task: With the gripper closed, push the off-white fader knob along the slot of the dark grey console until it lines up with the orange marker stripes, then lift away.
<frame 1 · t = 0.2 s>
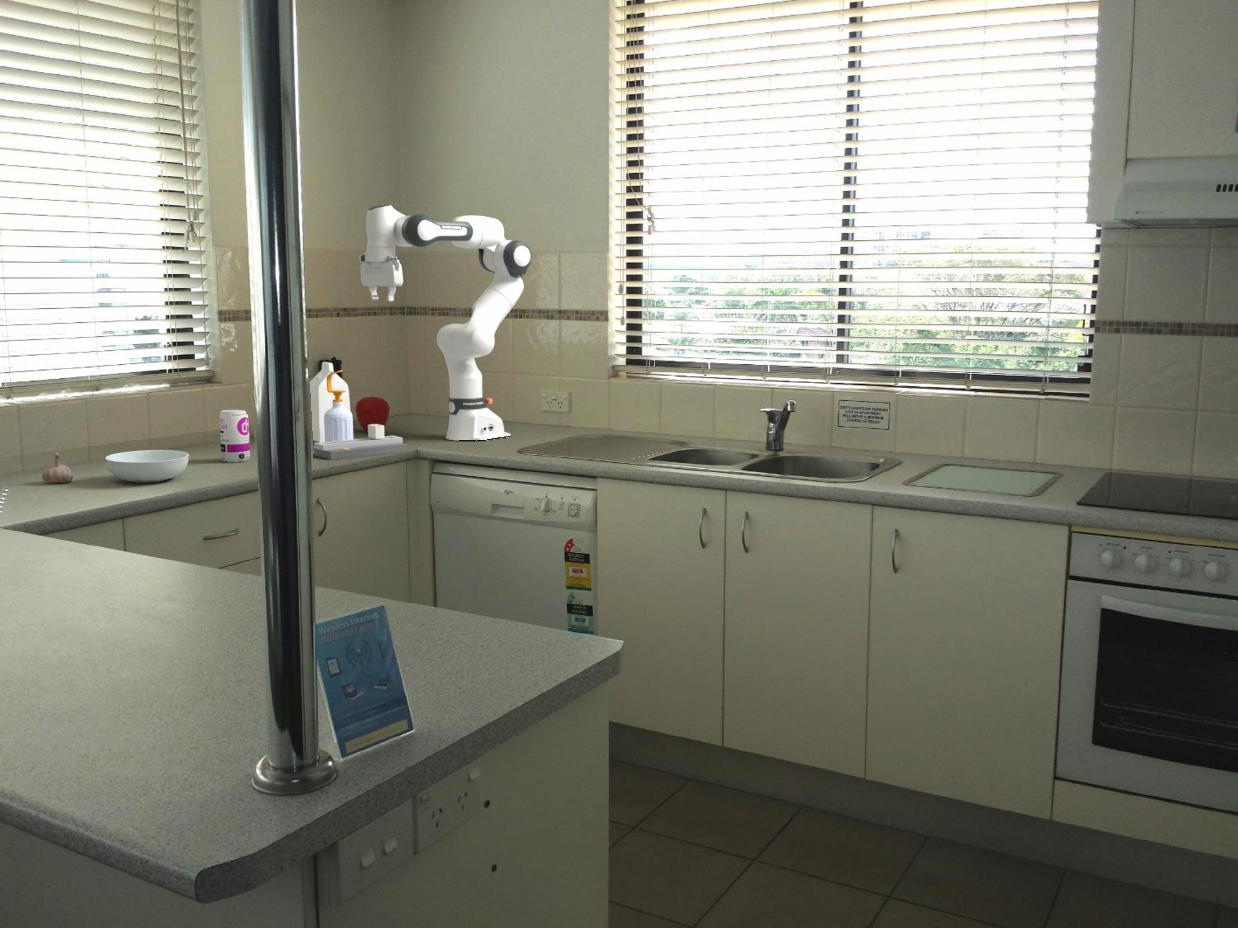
hand: (382, 300, 361), 47 cm above the worktop, tool pointing down, fingers open, 8 cm apart
garlic bulb: (58, 483, 301), on the worktop
milk: (330, 439, 386), on the worktop
soap bottle: (339, 445, 372), on the worktop
supplement can: (235, 461, 339), on the worktop
serving bowl: (149, 481, 306), on the worktop
fader: (376, 433, 358), point 6 cm above the worktop, slide at -6.0 cm
console: (359, 452, 355), on the worktop
apple: (373, 432, 404), on the worktop
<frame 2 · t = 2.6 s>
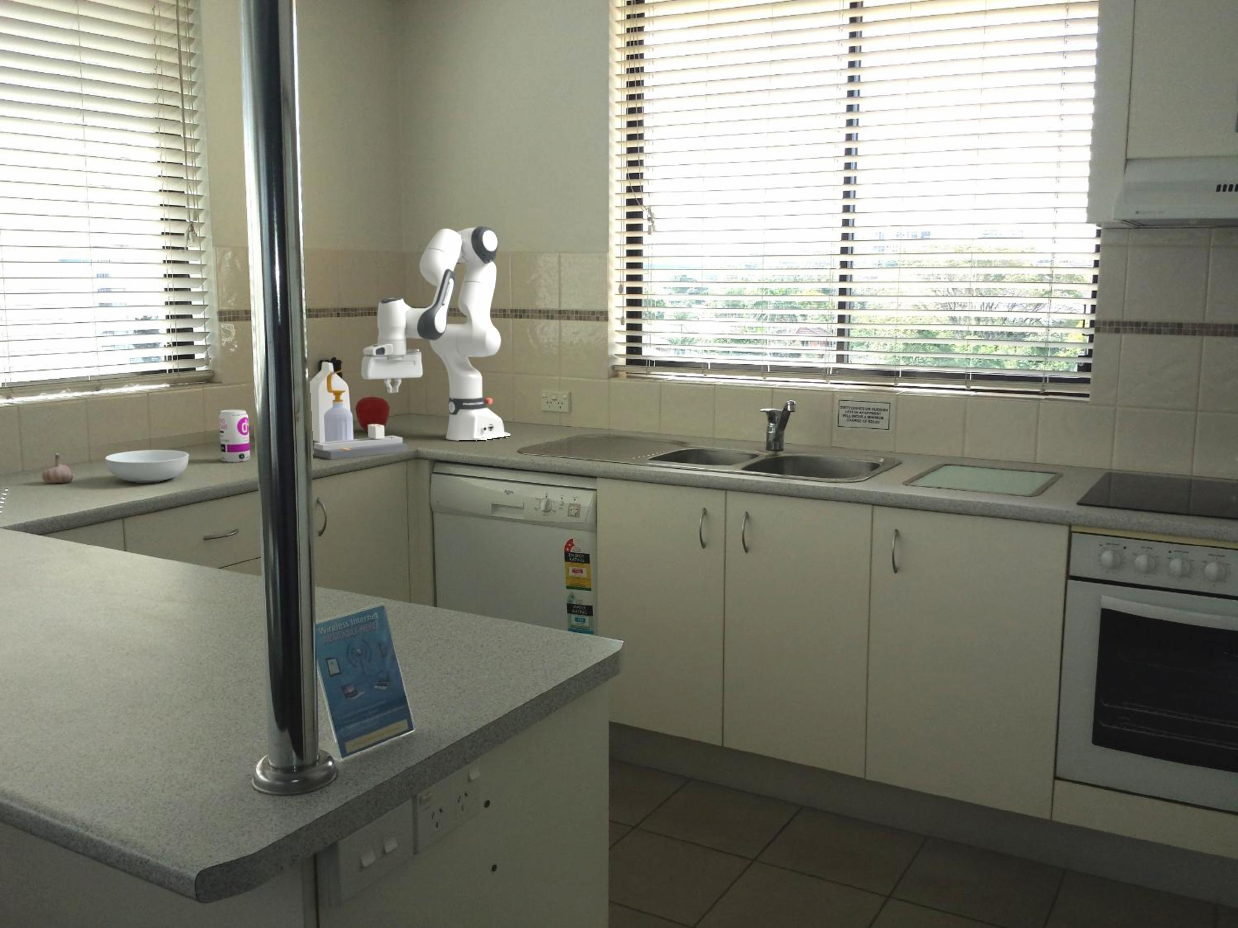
hand: (392, 392, 360), 18 cm above the worktop, tool pointing down, fingers closed
nothing on the worktop moved.
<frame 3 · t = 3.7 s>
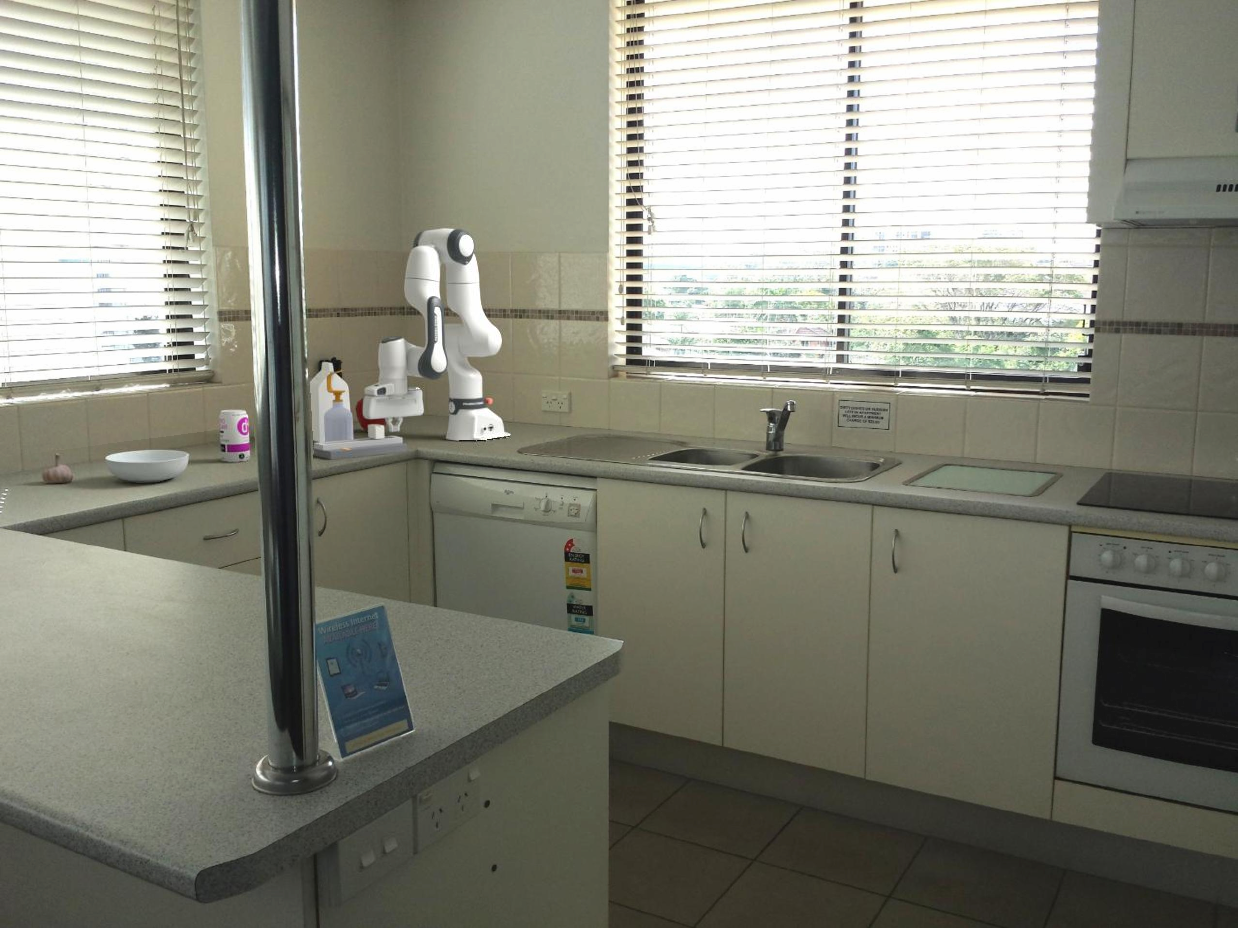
hand: (394, 431, 362), 6 cm above the worktop, tool pointing down, fingers closed
nothing on the worktop moved.
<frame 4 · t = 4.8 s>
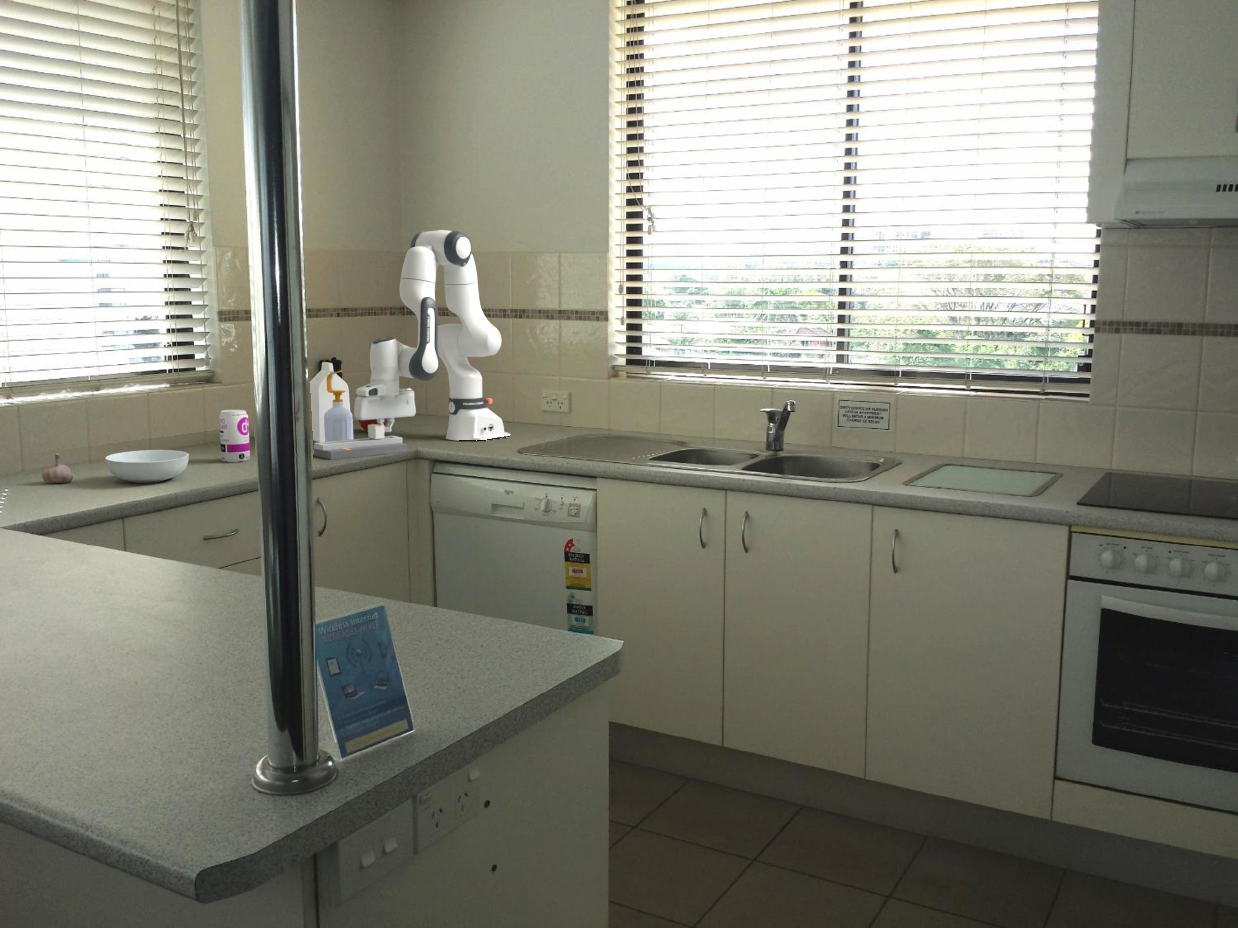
hand: (386, 432, 360), 6 cm above the worktop, tool pointing down, fingers closed
fader: (376, 433, 358), point 6 cm above the worktop, slide at -6.0 cm, touching gripper
everything else where it was.
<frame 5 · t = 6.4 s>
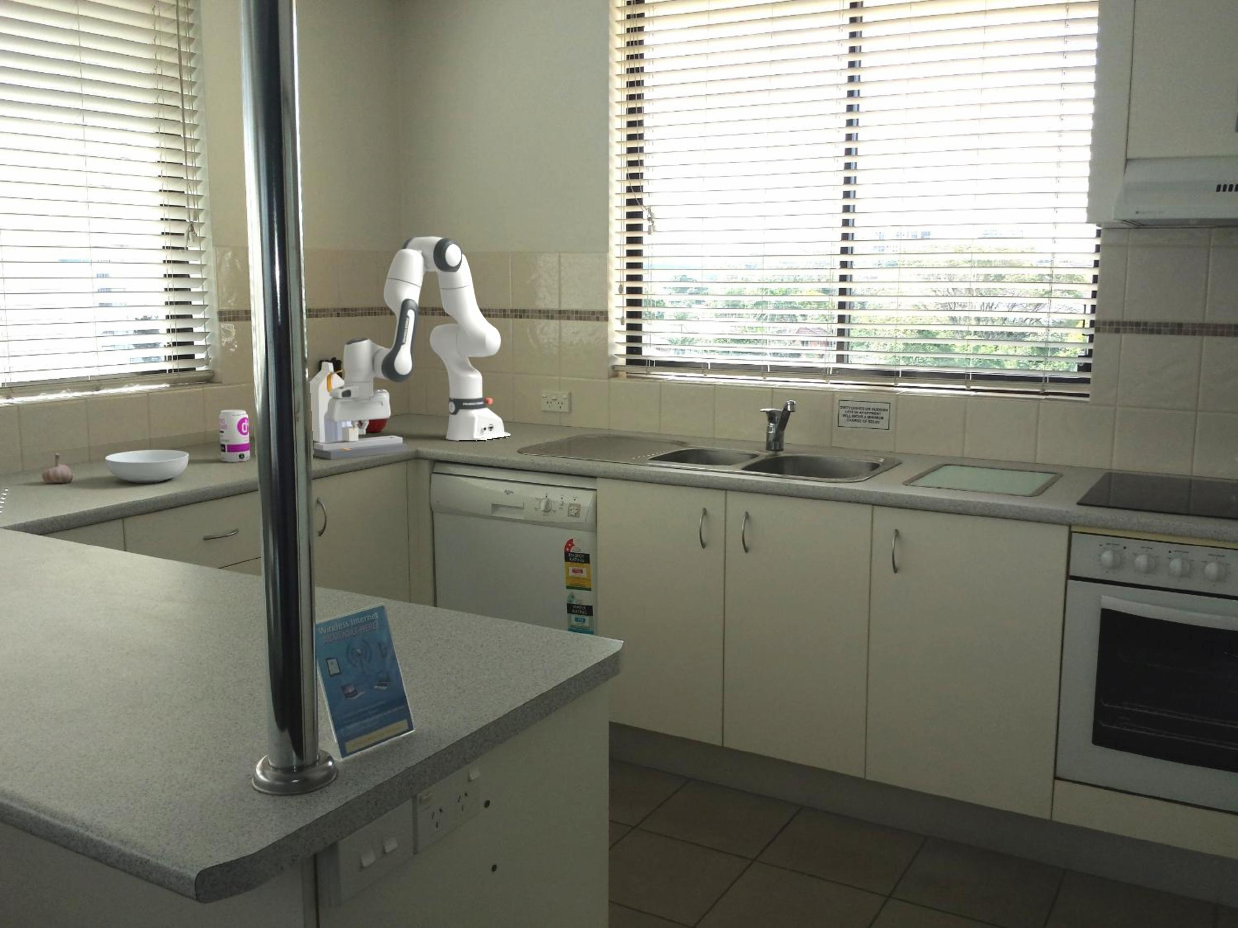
hand: (360, 434, 354), 6 cm above the worktop, tool pointing down, fingers closed
fader: (350, 436, 352), point 6 cm above the worktop, slide at 3.0 cm, touching gripper
everything else where it was.
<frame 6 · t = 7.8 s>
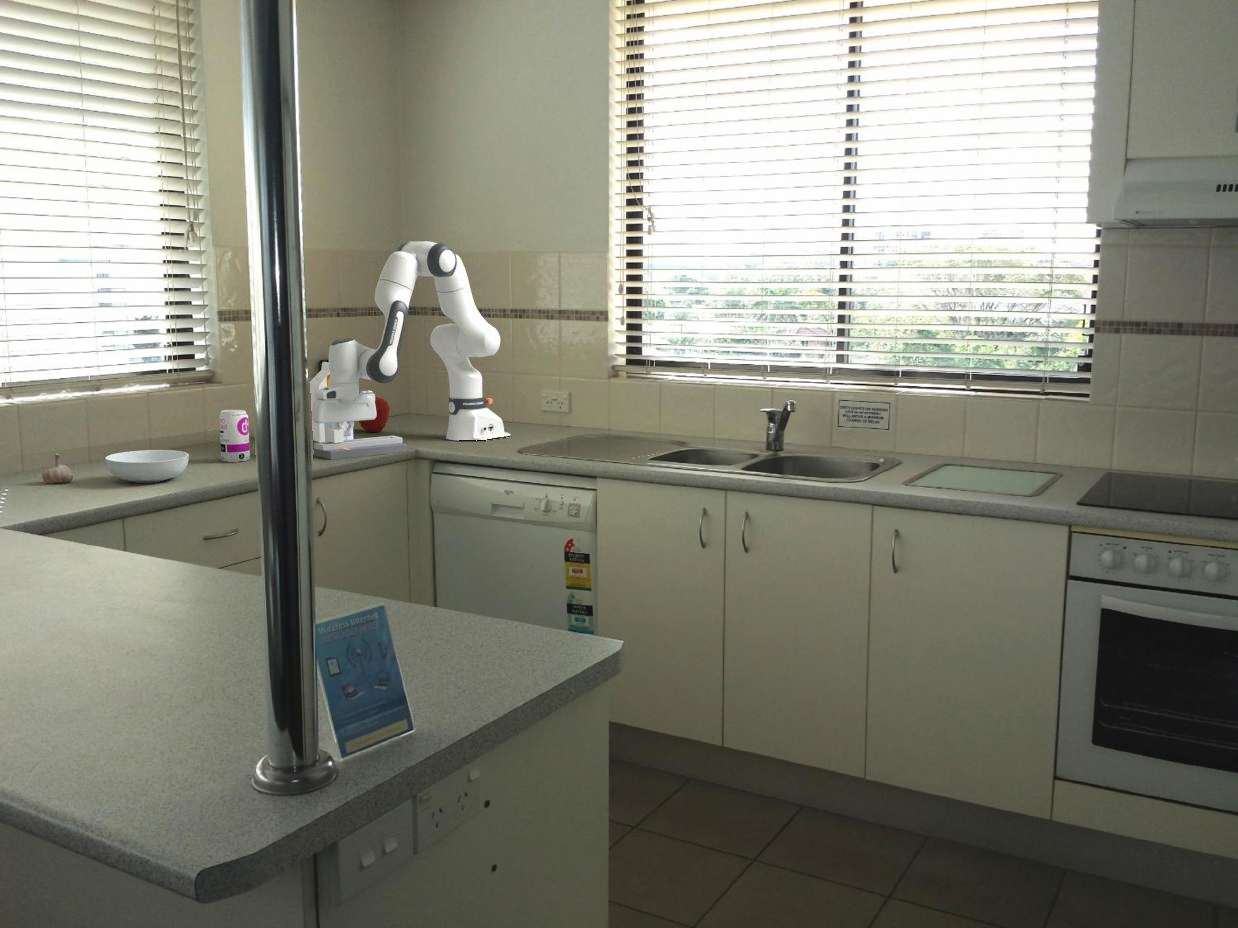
hand: (345, 436, 351), 6 cm above the worktop, tool pointing down, fingers closed
fader: (335, 437, 349), point 6 cm above the worktop, slide at 8.0 cm, touching gripper
everything else where it was.
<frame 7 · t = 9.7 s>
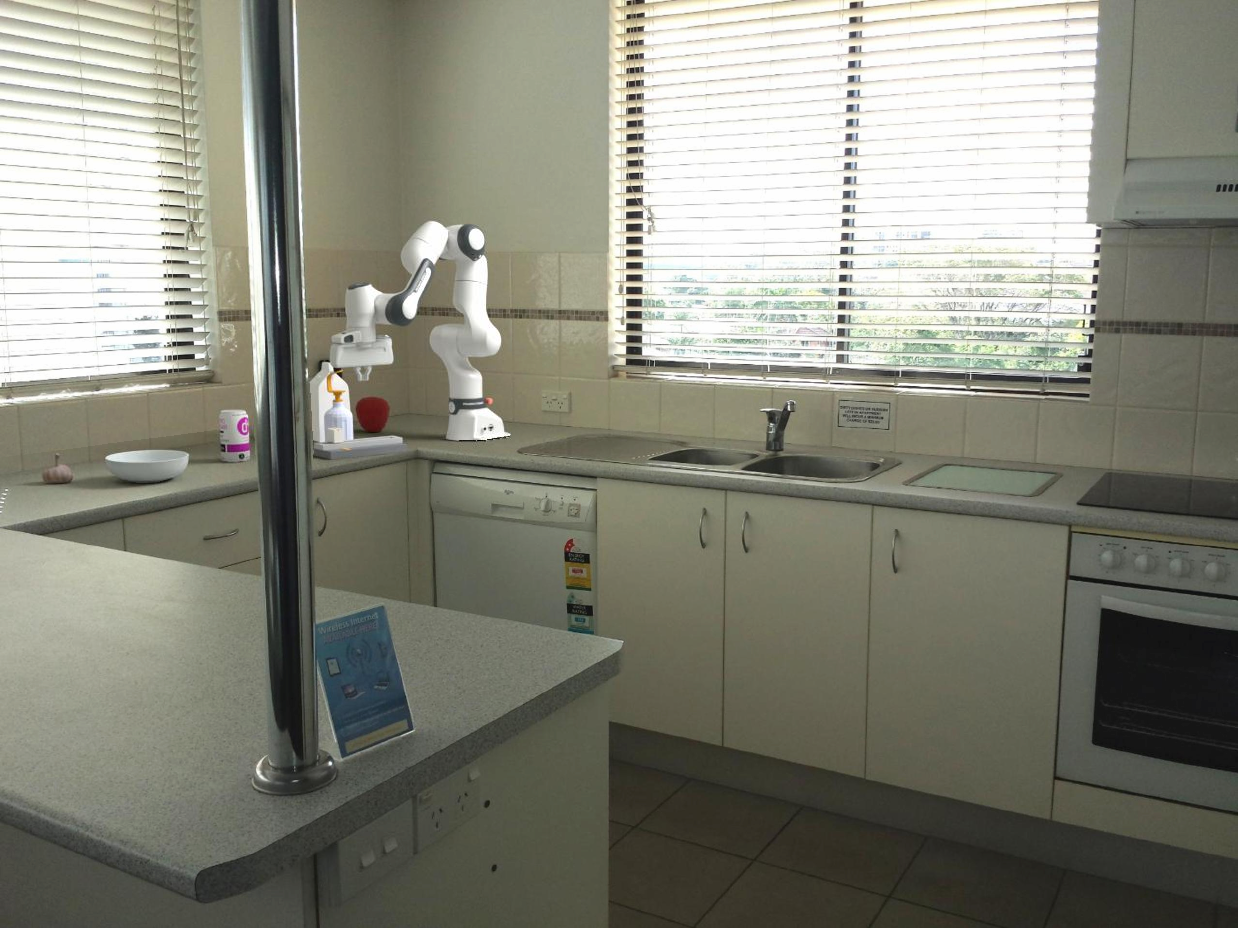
hand: (363, 380, 353), 23 cm above the worktop, tool pointing down, fingers closed
fader: (335, 437, 349), point 6 cm above the worktop, slide at 8.0 cm
everything else where it was.
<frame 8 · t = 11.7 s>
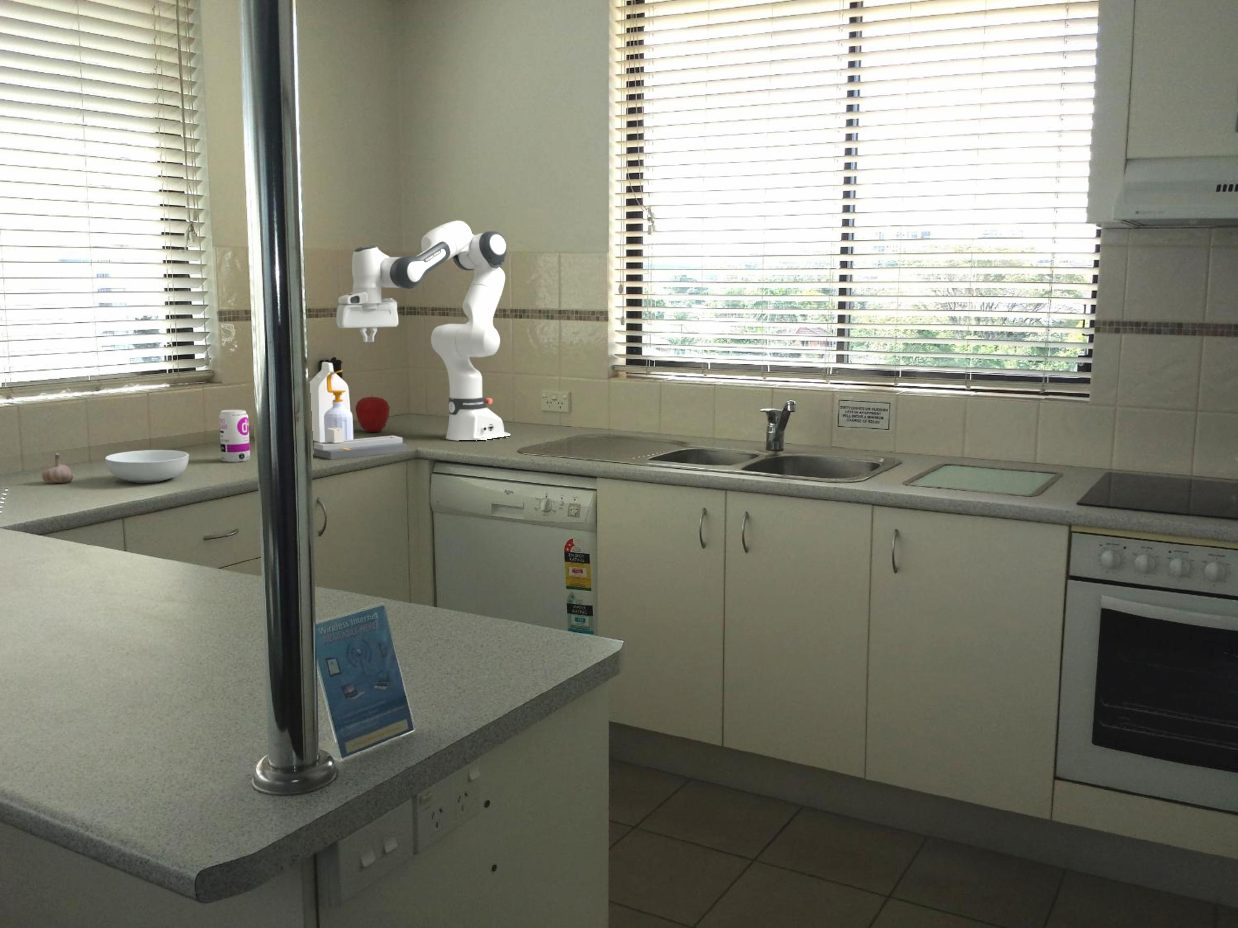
hand: (368, 342, 360), 34 cm above the worktop, tool pointing down, fingers closed
nothing on the worktop moved.
at the end: fader slide at 8.0 cm; the gripper is holding nothing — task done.
